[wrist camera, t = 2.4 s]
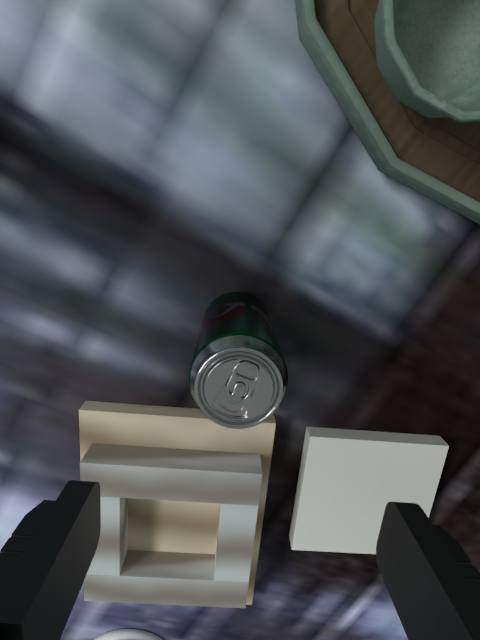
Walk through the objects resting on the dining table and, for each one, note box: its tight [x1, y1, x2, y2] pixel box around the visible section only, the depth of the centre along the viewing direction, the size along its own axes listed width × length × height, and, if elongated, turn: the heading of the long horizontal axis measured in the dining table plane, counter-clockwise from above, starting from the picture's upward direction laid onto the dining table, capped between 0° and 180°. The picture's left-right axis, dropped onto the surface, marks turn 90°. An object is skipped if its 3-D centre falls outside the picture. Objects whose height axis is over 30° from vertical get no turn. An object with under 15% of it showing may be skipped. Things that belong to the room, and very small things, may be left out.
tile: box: [289, 427, 449, 554], centre depth 33 cm, size 12×12×2 cm
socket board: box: [79, 401, 276, 608], centre depth 31 cm, size 20×16×4 cm
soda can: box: [189, 292, 288, 429], centre depth 23 cm, size 5×5×12 cm
